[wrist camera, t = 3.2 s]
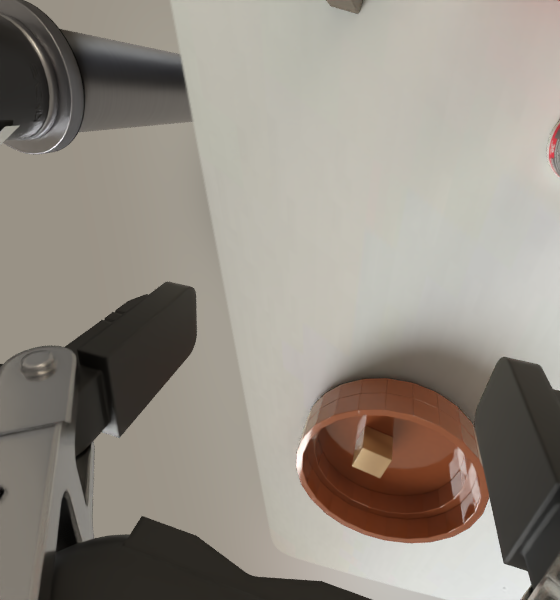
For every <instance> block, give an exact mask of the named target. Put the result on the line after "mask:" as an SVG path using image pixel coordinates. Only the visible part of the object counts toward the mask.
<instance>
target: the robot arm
mask: <svg viewBox="0 0 560 600" xmlns="http://www.w3.org/2000/svg"><path fill="white" fill-rule="evenodd" d="M57 110H58V87H57V81H56V77H55V73H54V70H53V67H52V65H51V62H50V60H49V58H48V56H47V54H46V52H45V50H44V48H43V47H42V45H41V44H40V42H39V41H38V39H37V38H36V37H35V36H34V35H33V33H32V32H31V31H30V30H29V29H28V28H27V27H26V26H25V25H23V24H22V23H21V22H19V21H18V20H16V19H15V18H13V17H11V16H8V15H6V14H2V13H0V145H1V144H2V143H3V142H4V141H7V140H31V139H36V138H39V137H41V136H43V135H44V134H46V133H47V132H48V131H49V130H50V128H51V127H52V125H53V123H54V121H55V118H56V115H57ZM196 324H197V321H196V292H195V290H194V288H193V287H190V286H185V285H181V284H176V283H172V282H165V283H164V284H162V285H161V286H160V287H158V288H157V289H156V290H155V291H153V292H152V293H151V294H149V295H147V294H146V295H143V296H140V297H138V298H135V299H132V300H130V301H128V302H126V303H125V304H124V305H122V306H121V307H120V308H118V309H117V310H116V311H115V313H114V312H112V313H111V314H110V315H108V316H107V317H106V318H105V320H101V321H100V322H99V323H97V324H96V325H95V326H93V327H92V328H90V329H89V330H88V331H86V332H85V333H83V334H82V335H81V336H79V337H78V338H77V339H75V340H74V341H72V342H71V343H70V344H68V345H67V346H65V347H61V346H42V347H36V348H32V349H29V350H26V351H23V352H21V353H18V354H17V355H15V356H13V357H12V358H10V359H9V360H7V361H6V362H5V363H4V364H0V600H371V599H369V598H366V597H363V596H360V595H358V594H355V593H352V592H350V591H347V590H344V589H341V588H338V587H336V586H333V585H330V584H328V583H325V582H322V581H308V580H295V579H281V578H266V577H255V576H252V575H249V574H247V573H245V572H244V571H243V570H242V569H240V568H239V567H238V566H236V565H235V564H233V563H232V562H231V561H229V560H228V559H227V558H225V557H224V556H223V555H221V554H220V553H219V552H217V551H216V550H215V549H213V548H212V547H211V546H209V545H208V544H207V543H205V542H204V541H203V540H201V539H200V538H199V537H197V536H196V535H193V534H190V533H187V532H184V531H181V530H179V529H176V528H173V527H171V526H168V525H165V524H162V523H160V522H157V521H154V520H151V519H149V518H146V517H143V516H142V517H141V518H140V520H139V521H138V523H137V525H136V526H135V528H134V529H133V531H132V533H131V534H130V535H112V536H105V537H100V538H95V539H94V534H93V521H92V512H93V484H94V453H95V451H94V450H95V449H94V442H93V441H94V439H95V438H96V437H97V436H98V435H99V434H100V433H101V432H103V433H106V434H109V435H112V436H116V437H118V438H119V437H120V436H121V435H122V434H123V433H124V432H125V430H126V429H127V428H128V427H129V426H130V425H131V423H132V422H133V421H134V420H135V419H136V418H137V416H138V415H139V414H140V413H141V412H142V411H143V409H144V408H145V407H146V406H147V405H148V404H149V402H150V401H151V400H152V399H153V397H154V396H155V395H156V394H157V393H158V392H159V390H160V389H161V388H162V387H163V386H164V384H165V383H166V382H167V381H168V380H169V379H170V377H171V376H172V375H173V374H174V373H175V372H176V370H177V369H178V368H179V367H180V366H181V364H182V363H183V362H184V361H185V360H186V359H187V358H188V356H189V355H190V353H191V352H192V350H193V348H194V345H195V342H196V336H197V325H196ZM475 432H476V437H477V441H478V446H479V451H480V455H481V460H482V465H483V469H484V474H485V478H486V483H487V488H488V492H489V497H490V502H491V506H492V511H493V516H494V520H495V525H496V530H497V534H498V539H499V544H500V548H501V553H502V558H503V562H504V564H507V565H511V566H514V567H517V568H520V569H523V570H526V571H528V573H529V577H530V581H531V584H532V585H531V586H530V587H529V589H528V590H527V591H526V592H525V594H524V595H523V597H522V598H521V600H560V391H558V390H553V389H552V387H551V385H550V383H549V381H548V379H547V377H546V375H545V373H544V371H543V369H542V368H541V366H540V365H538V364H534V363H530V362H525V361H521V360H516V359H512V358H507V357H502V358H501V359H500V360H499V361H498V362H497V364H496V366H495V368H494V371H493V373H492V375H491V377H490V380H489V382H488V384H487V386H486V388H485V391H484V393H483V395H482V397H481V399H480V402H479V404H478V407H477V410H476V415H475Z"/></svg>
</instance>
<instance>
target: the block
mask: <svg viewBox="0 0 560 600" xmlns="http://www.w3.org/2000/svg"><path fill="white" fill-rule="evenodd" d="M392 450H393V437H391V436H389V435H386V434H384V433H381V432H379V431H377V430H374V429H372V428H369V427H367V426H365V428H364V429H363V431H362V433H361V435H360V437H359V438H358V440H357V442H356V444H355V450H354V456H353V463H352V466H353V467H355V468H357V469H360V470H362V471H364V472H367V473H369V474H371V475H374V476H376V477H378V478H381V476H382V475H383V473H384V472H385V470H386V469H387V467H388V466H389V464H390V463H391V461H392Z"/></svg>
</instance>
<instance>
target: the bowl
mask: <svg viewBox="0 0 560 600" xmlns="http://www.w3.org/2000/svg"><path fill="white" fill-rule="evenodd" d="M365 426H367V427H369V428H372V429H374V430H377V431H379V432H381V433H384V434H386V435H389V436H391V437H393V450H392V461H391V463H390V464H389V466H388V467H387V469H386V470H385V472H384V473H383V475H382V476H381V478H378V477H376V476H374V475H371V474H369V473H367V472H364V471H362V470H360V469H357V468H355V467H353V466H352V463H353V456H354V450H355V444H356V442H357V440H358V438H359V437H360V435H361V433H362V431H363V429H364V428H365ZM296 469H297V472H298V475H299V478H300V482H301V484H302V486H303V488H304V489H305V491H306V492H307V494H308V495H309V497H310V498H311V499H312V500H313V501H314V502H315V503H316V504H317V505H318V506H319V507H320V508H321V509H322V510H323V511H324V512H325V513H326V514H327V515H329V516H330V517H332V518H333V519H335V520H336V521H338V522H339V523H341V524H342V525H344V526H346V527H349V528H351V529H353V530H355V531H357V532H360V533H362V534H364V535H368V536H371V537H375V538H378V539H382V540H387V541H394V542H403V543H425V542H434V541H438V540H442V539H446V538H450V537H454V536H455V535H457V534H459V533H461V532H463V531H465V530H467V529H469V528H470V527H471V526H472V525H473V524H474V523H475V522H476V521H477V520H478V519H479V518H480V517H481V516H482V514H483V512H484V510H485V507H486V505H487V502H488V499H489V492H488V488H487V483H486V478H485V474H484V469H483V465H482V460H481V455H480V451H479V446H478V441H477V437H476V432H475V428H474V426H473V424H472V422H471V421H470V420H469V419H468V418H467V417H466V416H465V415H464V413H463V412H462V411H461V410H460V409H459V408H458V407H457V406H456V405H455V404H453V403H452V402H450V401H449V400H447V399H446V398H444V397H443V396H441V395H440V394H438V393H436V392H435V391H432V390H430V389H427V388H425V387H422V386H420V385H417V384H415V383H411V382H406V381H400V380H395V379H389V378H388V379H387V378H375V379H361V380H357V381H353V382H349V383H345V384H341V385H339V386H338V387H336V388H334V389H332V390H330V391H329V392H327V393H325V394H324V395H323V396H322V397H321V398H320V399H319V400H318V401H317V402H316V403H315V404H314V406H313V407H312V409H311V411H310V414H309V416H308V418H307V420H306V424H305V427H304V430H303V433H302V436H301V439H300V443H299V446H298V449H297V456H296Z"/></svg>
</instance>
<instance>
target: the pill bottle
mask: <svg viewBox="0 0 560 600" xmlns="http://www.w3.org/2000/svg"><path fill="white" fill-rule="evenodd" d="M546 154H547V160H548V163H549V166H550V168H551V169H552V171H553V172H554V173H555V174H556V175H557V176H558V177H559V178H560V120H559V121H558V123H557V124H556V125H555V127H554V129H553V130H552V132H551V134H550V137H549V140H548V144H547V153H546Z"/></svg>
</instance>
